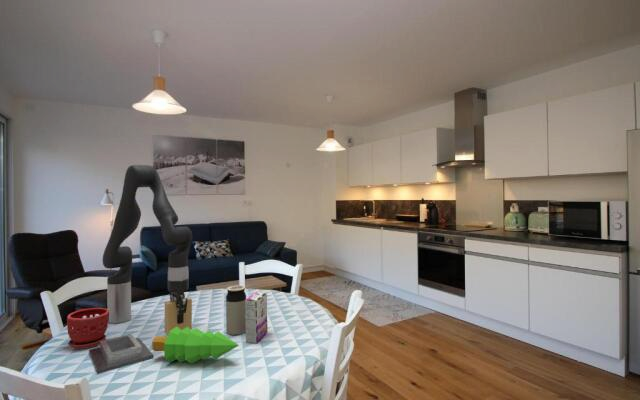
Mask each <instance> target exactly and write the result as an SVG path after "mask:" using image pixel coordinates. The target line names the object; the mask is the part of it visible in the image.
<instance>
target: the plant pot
mask: <svg viewBox="0 0 640 400" xmlns="http://www.w3.org/2000/svg"><path fill="white" fill-rule="evenodd" d="M83 317H84V318H83ZM108 321H109V310H108V308H105V307H104V308H103V307H93V308H92V307H91V308H84V309H78V310H76V311H74V312H71V313H69V314H68V315H67V318H66V326H67V327H66V328H67V334H68V337H69V339H70V340H69V341H68V346H69V347H70V348H72V349H77V350H82V349H89V348H93V347H96V346H98V345H100V341H103V340H106V338H107V335H106V331H108V330H107V329H108V326H109V323H108Z"/></svg>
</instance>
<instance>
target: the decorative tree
mask: <svg viewBox="0 0 640 400" xmlns="http://www.w3.org/2000/svg"><path fill="white" fill-rule="evenodd" d="M237 347H240V344H238V343H237V342H235V341H233V339H231V338H229V337H227V335H225V334H223V333H221V332H220V331H216V332H215V333H214V332H212V331H211V330H207V331H205V332H204V331H202V330H201V329H199V328H198V327H195V328H192V330H190V329H189V328H188V327H186V328H185V329H183V330H181V329H180V328H178V327H175V328H174V329H172V330H171V331H169V334H168V335H166V336H161V335H160V336H159V335H158V336H155V337H154V339H153V340H152V350H153V351H154V352H164V355H163V358H164V359H166V360H167V361H168V362H169V363H171V362H175V360H177V361H178V362H179V363H183V362H185V361H187V362H188V363H189V364H190V365H192V364H194V363H196V362H197V361H199V360H201V359H202V360H206V359H208V358H210V357H212V359H213V360H214V361H216V360H217V359H219V358H220V357H222V356H224V355H225V354H227V353H229V352H231V351H232V350H234V349H235V348H237Z"/></svg>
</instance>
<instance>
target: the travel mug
mask: <svg viewBox="0 0 640 400" xmlns="http://www.w3.org/2000/svg"><path fill="white" fill-rule="evenodd" d="M226 290H227V294H226V296H225V309H226V310H225V316H226V317H225V318H226V320H225V325H226V327H225V329H226V330H225V331H226V334H228V335H231V336H237V335H242V334H244V333H246V324H245V323H246V322H245V300H246V299H247V294H246V292H245V290H246V286H244V285H229V286H228V287H226Z"/></svg>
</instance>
